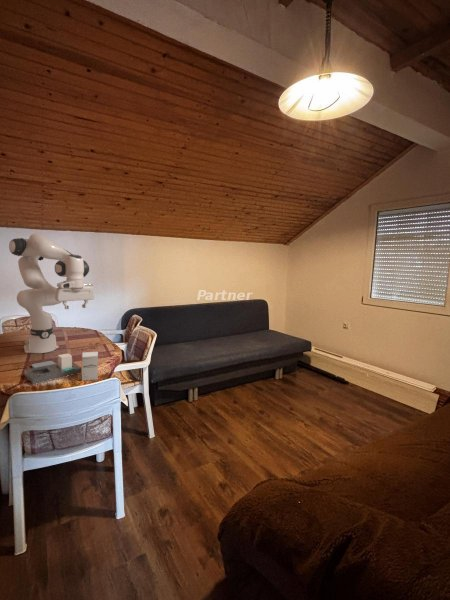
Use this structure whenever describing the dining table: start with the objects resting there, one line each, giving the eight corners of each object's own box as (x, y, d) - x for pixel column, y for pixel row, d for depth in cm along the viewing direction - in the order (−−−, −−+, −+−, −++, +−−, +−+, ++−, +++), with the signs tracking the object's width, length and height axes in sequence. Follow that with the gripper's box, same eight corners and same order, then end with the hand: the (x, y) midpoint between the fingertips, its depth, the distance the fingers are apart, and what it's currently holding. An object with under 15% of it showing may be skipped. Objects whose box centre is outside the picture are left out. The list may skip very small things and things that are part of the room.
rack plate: (24, 375, 149) (24, 369, 148) (70, 365, 165) (70, 360, 164) (33, 384, 139) (32, 378, 139) (81, 373, 156) (81, 367, 155)
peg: (58, 371, 156) (57, 355, 155) (68, 369, 160) (68, 353, 159) (61, 374, 153) (61, 357, 152) (72, 372, 156) (71, 355, 155)
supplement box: (81, 381, 146) (81, 356, 144) (82, 375, 153) (82, 352, 151) (97, 379, 149) (98, 355, 147) (97, 374, 156) (97, 351, 154)
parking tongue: (31, 366, 161) (31, 364, 161) (51, 362, 168) (51, 360, 168) (36, 371, 155) (36, 369, 155) (57, 367, 162) (57, 364, 162)
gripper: (91, 283, 176) (91, 306, 178) (53, 283, 161) (54, 308, 163) (96, 284, 172) (96, 307, 174) (57, 284, 157) (58, 310, 159)
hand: (75, 308), depth 168 cm, fingers open, 8 cm apart
